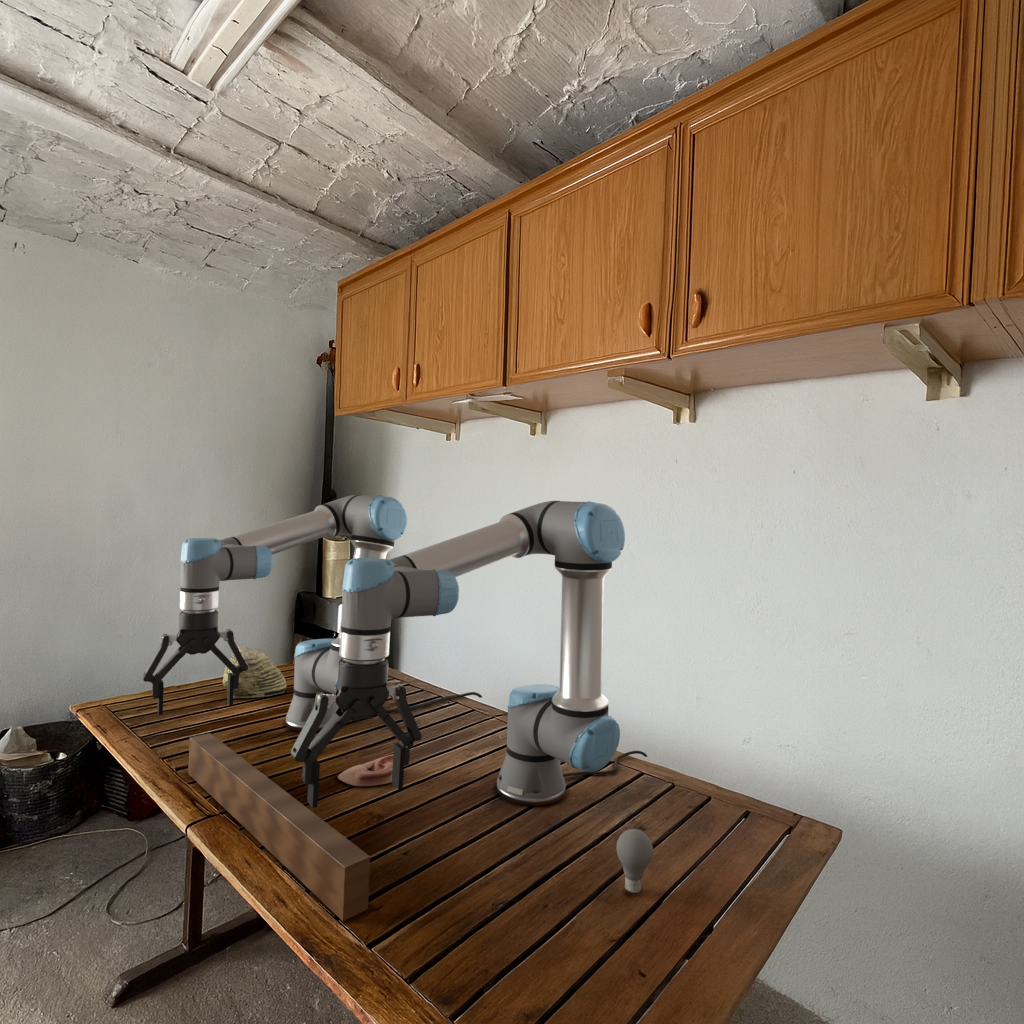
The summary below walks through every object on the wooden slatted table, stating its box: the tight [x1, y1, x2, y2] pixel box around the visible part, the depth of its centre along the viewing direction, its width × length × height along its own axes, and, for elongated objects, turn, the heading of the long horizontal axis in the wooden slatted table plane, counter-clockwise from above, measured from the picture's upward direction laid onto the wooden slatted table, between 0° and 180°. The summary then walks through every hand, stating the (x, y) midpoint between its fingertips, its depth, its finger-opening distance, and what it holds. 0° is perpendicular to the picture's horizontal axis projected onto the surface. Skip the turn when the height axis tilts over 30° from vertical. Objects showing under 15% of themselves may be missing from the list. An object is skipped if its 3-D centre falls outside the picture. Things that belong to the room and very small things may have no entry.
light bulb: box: [615, 828, 654, 894], centre depth 106 cm, size 6×6×10 cm
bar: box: [187, 732, 371, 922], centre depth 120 cm, size 66×4×8 cm, turn 45°
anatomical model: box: [337, 754, 393, 787], centre depth 144 cm, size 13×4×12 cm
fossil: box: [222, 646, 288, 699], centre depth 198 cm, size 9×18×15 cm, turn 132°
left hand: (196, 708), depth 137 cm, fingers open, 13 cm apart
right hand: (356, 794), depth 98 cm, fingers open, 13 cm apart
